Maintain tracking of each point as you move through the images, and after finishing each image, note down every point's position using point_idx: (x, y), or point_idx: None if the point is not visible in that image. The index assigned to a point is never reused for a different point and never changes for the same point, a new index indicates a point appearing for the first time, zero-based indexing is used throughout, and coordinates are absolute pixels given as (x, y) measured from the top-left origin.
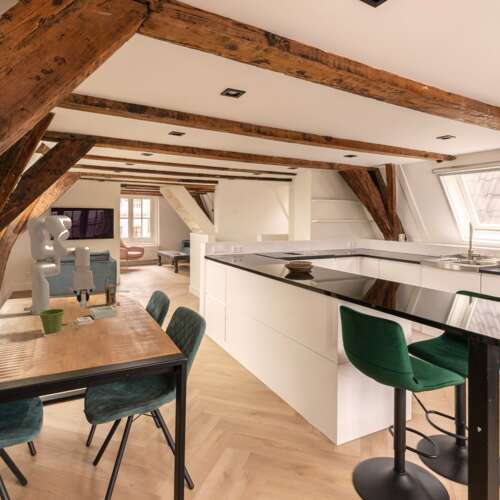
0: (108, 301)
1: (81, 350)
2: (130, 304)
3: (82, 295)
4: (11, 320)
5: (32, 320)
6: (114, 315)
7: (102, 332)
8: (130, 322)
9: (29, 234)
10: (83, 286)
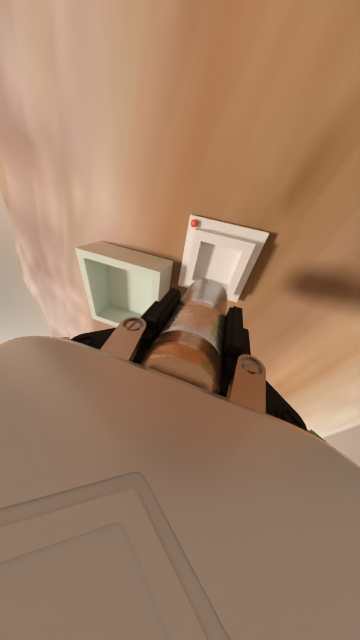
0: None
1: None
2: (63, 336)
3: (207, 331)
4: (317, 428)
5: (290, 399)
6: (100, 244)
7: None
8: (46, 81)
9: None
10: (160, 459)
